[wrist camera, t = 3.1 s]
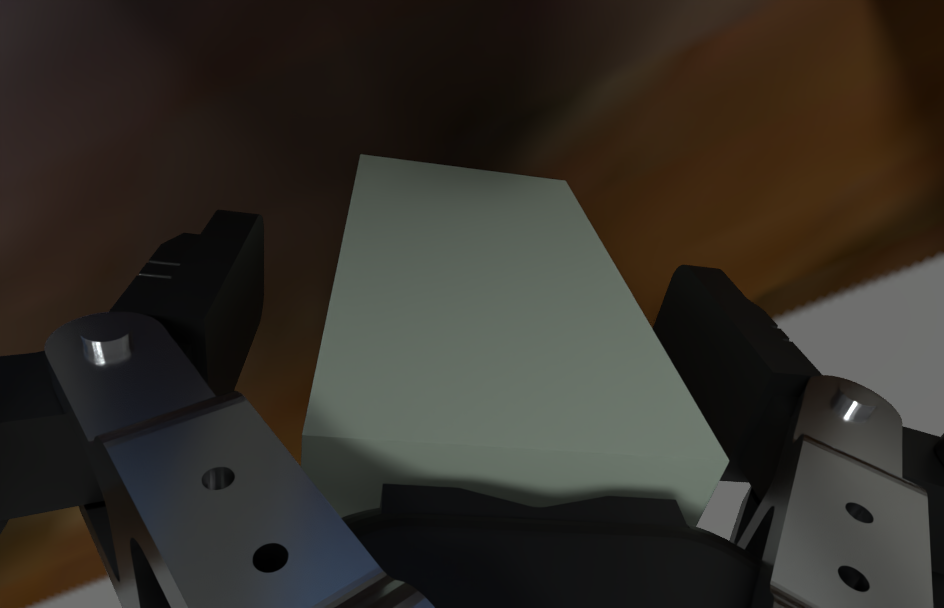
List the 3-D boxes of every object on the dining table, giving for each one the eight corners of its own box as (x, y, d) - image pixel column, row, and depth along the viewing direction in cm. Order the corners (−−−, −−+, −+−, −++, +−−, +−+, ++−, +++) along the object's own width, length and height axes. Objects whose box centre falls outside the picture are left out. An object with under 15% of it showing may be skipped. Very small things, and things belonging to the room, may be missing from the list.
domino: (360, 154, 14) (301, 434, 6) (565, 180, 15) (729, 461, 7) (355, 227, 15) (298, 548, 7) (548, 248, 16) (678, 560, 8)
